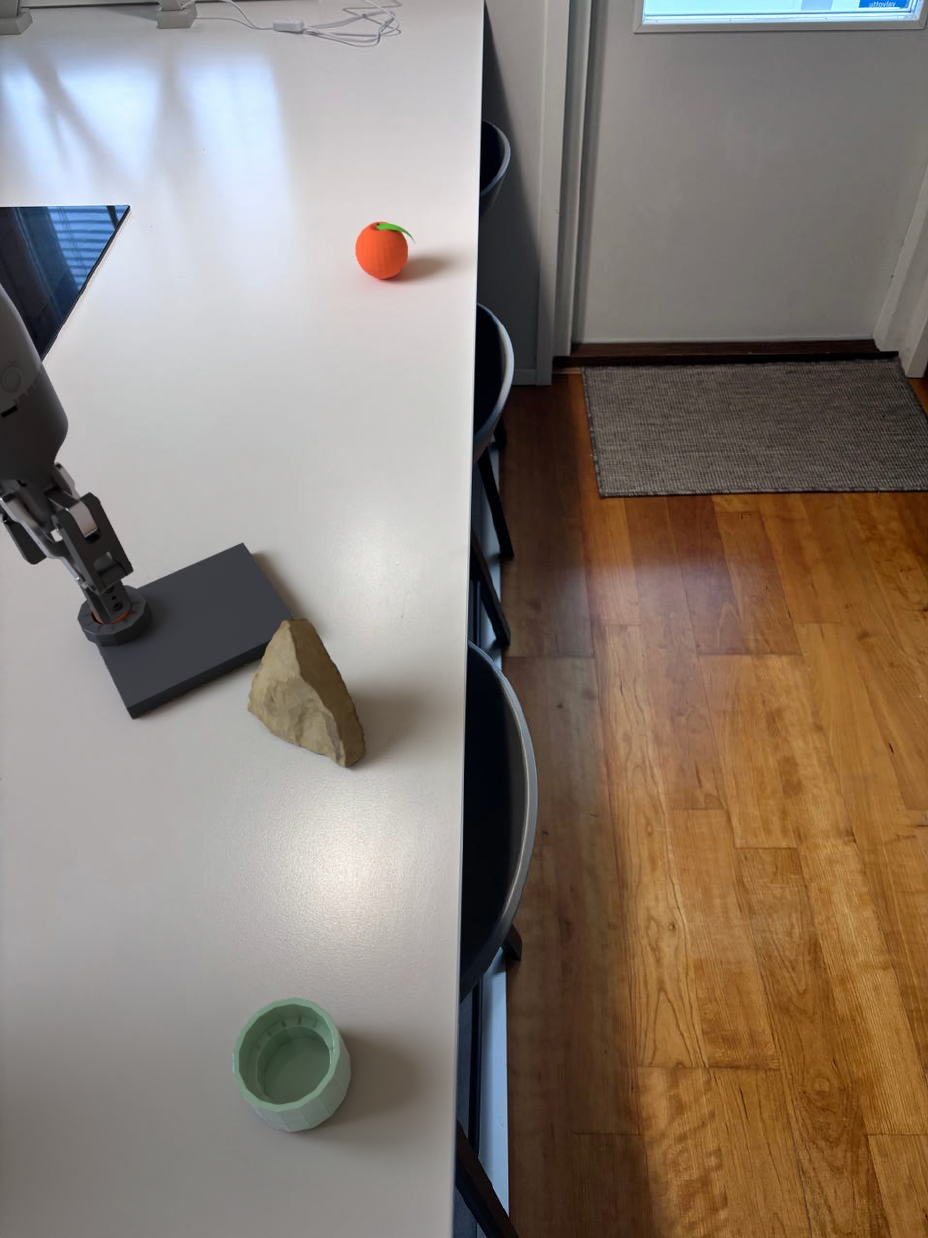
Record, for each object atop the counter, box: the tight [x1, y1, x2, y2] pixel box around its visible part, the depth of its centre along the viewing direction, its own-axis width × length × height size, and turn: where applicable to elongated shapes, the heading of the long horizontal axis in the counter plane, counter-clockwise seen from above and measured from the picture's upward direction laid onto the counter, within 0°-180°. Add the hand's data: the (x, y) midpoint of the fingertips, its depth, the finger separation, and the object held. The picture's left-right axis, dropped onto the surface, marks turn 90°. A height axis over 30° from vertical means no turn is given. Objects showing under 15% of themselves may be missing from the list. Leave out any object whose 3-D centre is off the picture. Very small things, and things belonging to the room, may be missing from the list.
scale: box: [76, 542, 295, 720], centre depth 85 cm, size 16×13×3 cm
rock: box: [246, 617, 367, 769], centre depth 76 cm, size 11×9×10 cm
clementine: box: [354, 221, 416, 280], centre depth 124 cm, size 8×7×7 cm
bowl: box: [232, 997, 352, 1133], centre depth 58 cm, size 6×6×5 cm
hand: (78, 584), depth 62 cm, fingers open, 8 cm apart
